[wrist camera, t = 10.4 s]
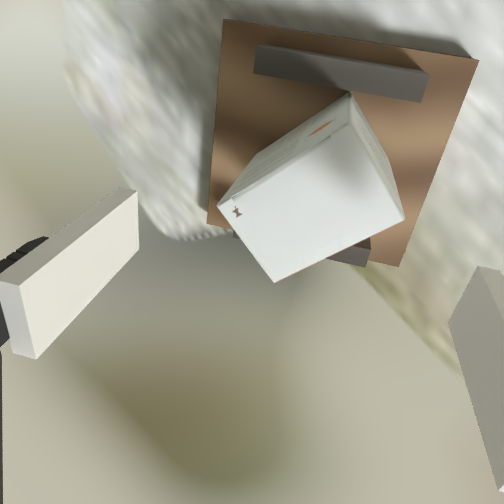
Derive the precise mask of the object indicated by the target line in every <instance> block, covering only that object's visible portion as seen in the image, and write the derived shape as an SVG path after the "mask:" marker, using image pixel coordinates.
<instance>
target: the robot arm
mask: <svg viewBox="0 0 504 504" xmlns="http://www.w3.org/2000/svg"><path fill="white" fill-rule="evenodd" d="M138 249H139V232H138V197H137V191H135V190H131V189H126V188H121V187H119V188H118V189H116V190H115V191H113V192H112V193H111V194H109V195H108V196H107V197H106V198H104V199H102V200H101V201H100V202H98V203H97V204H95V205H94V206H93V207H92V208H90V209H89V210H88V211H86V212H84V213H83V214H82V215H80V216H79V217H78V218H76V219H75V220H74V221H72V222H71V223H69V224H68V225H66V226H65V227H64V228H62V229H61V230H60V231H58V232H57V233H55V234H54V235H53V236H51V237H50V238H48V237H44V236H43V237H40V238H38V239H35V240H33V241H30V242H27V243H26V244H24V245H23V246H21V247H20V248H19V249H17V250H16V252H13V253H12V254H10V255H8V256H7V257H6V259H3V260H1V261H0V347H1V346H2V345H3V344H4V343H5V342H6V341H7V340H8V339H9V340H10V343H11V347H12V351H13V353H15V354H18V355H22V356H25V357H29V358H33V359H37V358H38V357H39V356H40V355H41V354H42V353H43V351H44V350H46V349H47V347H48V346H49V345H50V344H51V343H52V342H53V341H54V340H55V339H56V337H58V335H59V334H60V333H61V332H62V331H63V330H64V329H65V328H66V327H67V326H68V325H69V324H70V323H71V322H72V320H73V319H74V318H75V317H76V316H77V315H78V314H79V313H80V312H81V311H82V310H83V309H84V308H85V307H86V305H87V304H88V303H89V302H90V301H91V300H92V299H93V298H94V297H95V296H96V294H98V293H99V291H100V290H101V289H102V288H103V287H104V286H105V285H106V284H107V283H108V282H109V281H110V280H111V278H113V276H114V275H115V274H116V273H117V272H118V271H119V270H120V269H121V268H122V267H123V266H124V265H125V263H126V262H127V261H128V260H129V259H130V258H131V257H132V256H133V255H134V254H135V253H136V251H138ZM448 325H449V328H450V332H451V335H452V338H453V342H454V345H455V348H456V352H457V355H458V358H459V362H460V365H461V368H462V372H463V375H464V378H465V382H466V385H467V388H468V392H469V395H470V398H471V402H472V405H473V408H474V411H475V415H476V418H477V422H478V425H479V428H480V431H481V435H482V438H483V441H484V445H485V448H486V452H487V455H488V458H489V461H490V465H491V468H492V472H493V475H494V478H495V482H496V484H497V488H498V491H501V492H504V277H503V275H502V274H501V272H500V271H499V270H494V269H490V268H485V267H481V266H477V268H476V270H475V272H474V274H473V276H472V278H471V280H470V282H469V283H468V285H467V287H466V289H465V291H464V293H463V295H462V297H461V299H460V301H459V302H458V304H457V306H456V308H455V310H454V312H453V314H452V316H451V318H450V320H449V322H448ZM2 464H3V463H2V355H1V352H0V504H3V470H2V469H3V465H2Z"/></svg>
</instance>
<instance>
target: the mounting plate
mask: <svg viewBox="0 0 504 504" xmlns="http://www.w3.org/2000/svg"><path fill="white" fill-rule="evenodd" d="M478 62H479V60H477V59H473V58H467V57H461V56H454V55H448V54H442V53H436V52H429V51H423V50H417V49H411V48H404V47H398V46H392V45H386V44H379V43H373V42H367V41H361V40H354V39H348V38H342V37H336V36H329V35H323V34H317V33H311V32H304V31H298V30H292V29H286V28H279V27H273V26H267V25H261V24H254V23H248V22H242V21H236V20H228V19H223V32H222V44H221V56H220V68H219V80H218V92H217V105H216V117H215V129H214V141H213V153H212V165H211V178H210V190H209V202H208V214H207V224H211V225H215V226H220V227H224V228H229V229H233V228H232V226H231V225H230V224H229V222H228V221H227V220H226V218H225V217H224V215H223V214H222V213H221V211H220V210H219V209H218V207H217V204H218V202H219V201H220V200H221V199H222V197H223V196H224V195H225V193H226V192H227V191H228V190H229V189H230V187H231V186H232V184H233V183H234V182H235V180H236V179H237V178H238V176H239V175H240V174H241V173H242V171H243V170H244V169H245V167H246V166H247V165H248V164H249V162H250V161H251V160H252V159H253V157H254V156H255V155H256V154H257V153H259V152H260V151H262V150H263V149H265V148H266V147H268V146H269V145H271V144H272V143H274V142H275V141H277V140H278V139H280V138H281V137H283V136H284V135H286V134H287V133H289V132H290V131H292V130H293V129H295V128H296V127H298V126H299V125H301V124H302V123H304V122H305V121H307V120H308V119H309V118H311V117H312V116H314V115H315V114H317V113H318V112H320V111H321V110H323V109H324V108H326V107H327V106H329V105H330V104H332V103H333V102H335V101H336V100H338V99H339V98H341V97H342V96H344V95H345V94H346V93H348V92H351V93H352V95H353V97H354V98H355V100H356V102H357V103H358V105H359V107H360V109H361V110H362V112H363V114H364V116H365V117H366V119H367V121H368V123H369V124H370V126H371V128H372V130H373V132H374V133H375V135H376V137H377V139H378V141H379V142H380V144H381V146H382V148H383V150H384V152H385V153H386V155H387V157H388V159H389V162H390V166H391V169H392V173H393V176H394V180H395V183H396V186H397V191H398V194H399V198H400V201H401V205H402V208H403V212H404V215H405V220H404V221H403V222H400V223H398V224H396V225H394V226H392V227H390V228H388V229H386V230H384V231H381V232H379V233H377V234H375V235H373V236H371V237H369V238H367V239H365V240H362V241H360V242H358V243H356V244H354V245H352V246H350V247H348V248H346V249H344V250H342V251H340V252H338V253H336V254H334V255H331V256H329V257H327V258H326V259H330V260H335V261H339V262H343V263H348V264H352V265H356V266H361V267H365V266H366V264H367V261H368V260H370V261H374V262H379V263H383V264H387V265H392V266H396V267H399V265H400V262H401V260H402V257H403V254H404V252H405V249H406V247H407V244H408V242H409V239H410V236H411V234H412V231H413V229H414V226H415V224H416V221H417V219H418V216H419V213H420V211H421V208H422V206H423V203H424V201H425V198H426V196H427V193H428V190H429V188H430V185H431V183H432V180H433V178H434V175H435V172H436V170H437V167H438V165H439V162H440V160H441V157H442V155H443V152H444V149H445V147H446V144H447V142H448V139H449V137H450V134H451V131H452V129H453V126H454V124H455V121H456V119H457V116H458V114H459V111H460V108H461V106H462V103H463V101H464V98H465V96H466V93H467V91H468V88H469V85H470V83H471V80H472V78H473V75H474V73H475V70H476V67H477V65H478ZM233 230H234V229H233ZM233 237H234V238H238V239H241V238H240V237H239V236H238V234H237V233H236V232H235V230H234V233H233Z"/></svg>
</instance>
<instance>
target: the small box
mask: <svg viewBox="0 0 504 504" xmlns="http://www.w3.org/2000/svg"><path fill="white" fill-rule="evenodd" d="M217 207H218V209H219V210H220V211H221V213H222V214H223V215H224V217H225V218H226V220H227V221H228V222H229V224H230V225H231V226H232V228H233V229H234V230H235V232H236V233H237V234H238V236H239V237H240V238H241V240H242V241H243V243H244V244H245V245H246V246H247V248H248V249H249V250H250V252H251V253H252V254H253V256H254V257H255V259H256V260H257V261H258V263H259V264H260V265H261V267H262V268H263V269H264V271H265V272H266V273H267V274H268V275H269V277H270V278H271V280H272V281H273V282H274V283H276V282H278V281H280V280H282V279H284V278H286V277H288V276H290V275H292V274H294V273H296V272H298V271H300V270H303V269H305V268H307V267H309V266H311V265H313V264H315V263H317V262H319V261H321V260H323V259H325V258H327V257H329V256H331V255H334V254H336V253H338V252H340V251H342V250H344V249H346V248H348V247H350V246H352V245H354V244H356V243H358V242H360V241H362V240H365V239H367V238H369V237H371V236H373V235H375V234H377V233H379V232H381V231H384V230H386V229H388V228H390V227H392V226H394V225H396V224H398V223H400V222H403V221H404V220H405V215H404V212H403V208H402V205H401V201H400V198H399V194H398V191H397V186H396V183H395V180H394V176H393V173H392V169H391V166H390V162H389V159H388V157H387V155H386V153H385V152H384V150H383V148H382V146H381V144H380V142H379V141H378V139H377V137H376V135H375V133H374V132H373V130H372V128H371V126H370V124H369V123H368V121H367V119H366V117H365V116H364V114H363V112H362V110H361V109H360V107H359V105H358V103H357V102H356V100H355V98H354V97H353V95H352V93H351V92H348V93H346V94H345V95H344V96H342V97H341V98H339V99H338V100H336V101H335V102H333V103H332V104H330V105H329V106H327V107H326V108H324V109H323V110H321V111H320V112H318V113H317V114H315V115H314V116H312V117H311V118H309V119H308V120H307V121H305V122H304V123H302V124H301V125H299V126H298V127H296V128H295V129H293V130H292V131H290V132H289V133H287V134H286V135H284V136H283V137H281V138H280V139H278V140H277V141H275V142H274V143H272V144H271V145H269V146H268V147H266V148H265V149H263V150H262V151H260V152H259V153H257V154H256V155H255V156H254V157H253V159H252V160H251V161H250V162H249V164H248V165H247V166H246V167H245V169H244V170H243V171H242V173H241V174H240V175H239V176H238V178H237V179H236V180H235V182H234V183H233V184H232V186H231V187H230V189H229V190H228V191H227V192H226V193H225V195H224V196H223V197H222V199H221V200H220V201H219V202H218V204H217Z"/></svg>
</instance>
